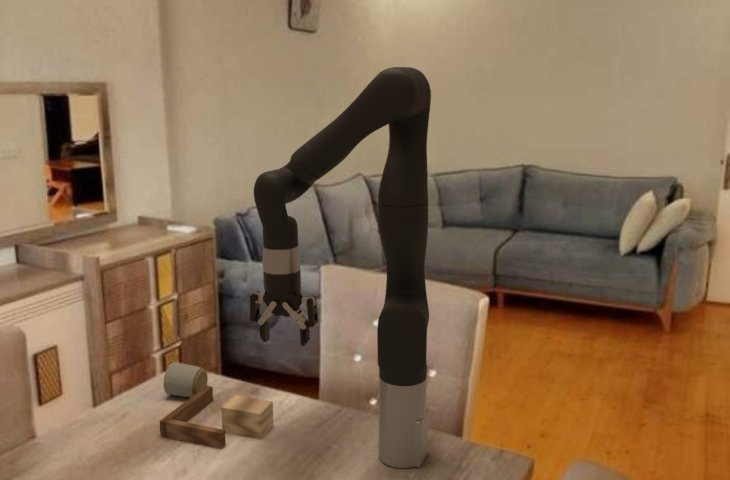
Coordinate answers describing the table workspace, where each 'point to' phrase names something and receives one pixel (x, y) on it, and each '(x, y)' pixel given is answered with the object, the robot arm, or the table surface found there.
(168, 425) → the corner fence
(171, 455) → the table surface
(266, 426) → the oak block
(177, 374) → the ceramic mug
